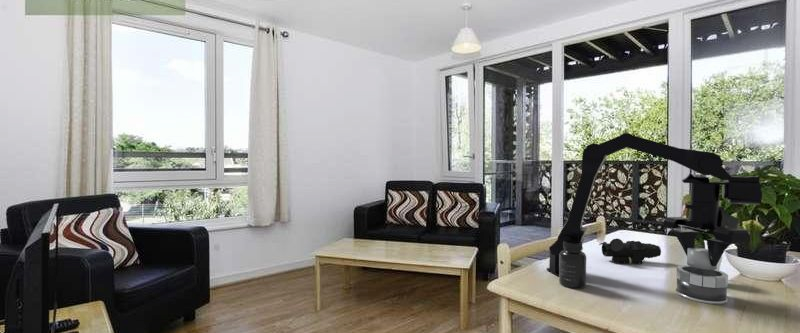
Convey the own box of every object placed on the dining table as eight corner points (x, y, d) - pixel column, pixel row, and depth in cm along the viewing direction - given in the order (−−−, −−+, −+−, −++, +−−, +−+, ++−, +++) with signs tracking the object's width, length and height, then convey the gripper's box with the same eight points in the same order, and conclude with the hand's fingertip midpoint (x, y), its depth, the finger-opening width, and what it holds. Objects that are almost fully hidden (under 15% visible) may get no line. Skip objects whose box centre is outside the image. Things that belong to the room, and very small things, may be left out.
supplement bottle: (564, 278, 110) (565, 237, 109) (589, 285, 105) (590, 241, 104) (554, 284, 105) (555, 241, 104) (580, 291, 100) (581, 246, 100)
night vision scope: (656, 269, 128) (670, 256, 120) (601, 268, 129) (611, 255, 122) (648, 247, 132) (661, 234, 125) (595, 246, 134) (604, 233, 126)
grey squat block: (702, 270, 94) (703, 253, 93) (680, 263, 99) (681, 247, 99) (723, 269, 95) (724, 252, 94) (700, 262, 100) (701, 246, 100)
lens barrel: (702, 305, 91) (703, 278, 91) (665, 289, 102) (666, 265, 101) (739, 303, 93) (740, 277, 93) (699, 288, 103) (700, 264, 103)
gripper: (772, 206, 88) (768, 272, 89) (698, 196, 107) (695, 251, 107) (731, 207, 87) (727, 274, 87) (662, 197, 105) (660, 252, 106)
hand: (701, 262), depth 97 cm, fingers closed on grey squat block, 6 cm apart
